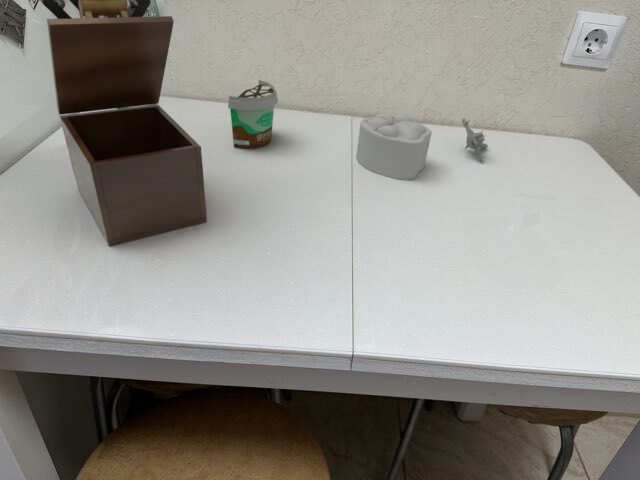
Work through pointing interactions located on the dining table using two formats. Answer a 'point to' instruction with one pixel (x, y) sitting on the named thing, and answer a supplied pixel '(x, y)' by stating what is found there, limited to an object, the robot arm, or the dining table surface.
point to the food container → (253, 116)
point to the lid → (108, 57)
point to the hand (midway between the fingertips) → (110, 72)
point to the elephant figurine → (475, 140)
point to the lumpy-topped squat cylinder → (393, 146)
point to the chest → (136, 171)
